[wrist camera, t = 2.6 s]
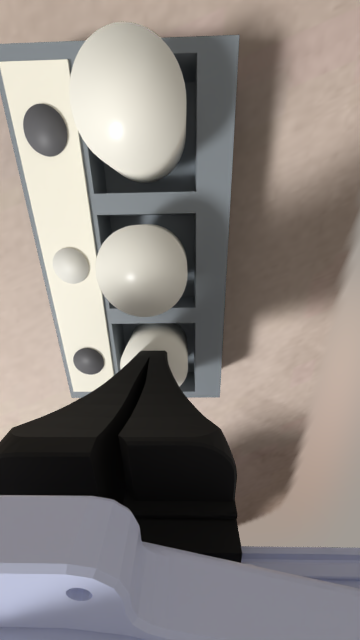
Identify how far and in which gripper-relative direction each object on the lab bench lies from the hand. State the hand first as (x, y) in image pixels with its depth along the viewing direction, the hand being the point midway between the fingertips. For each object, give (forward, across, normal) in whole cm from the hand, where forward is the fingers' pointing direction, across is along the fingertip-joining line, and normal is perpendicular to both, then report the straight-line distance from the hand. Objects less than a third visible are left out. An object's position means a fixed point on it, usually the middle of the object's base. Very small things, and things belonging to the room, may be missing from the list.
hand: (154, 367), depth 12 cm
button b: (+1, 0, -5) cm, 5 cm away
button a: (+3, 0, 0) cm, 3 cm away
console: (+3, +1, -5) cm, 6 cm away
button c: (+1, 0, -10) cm, 10 cm away
